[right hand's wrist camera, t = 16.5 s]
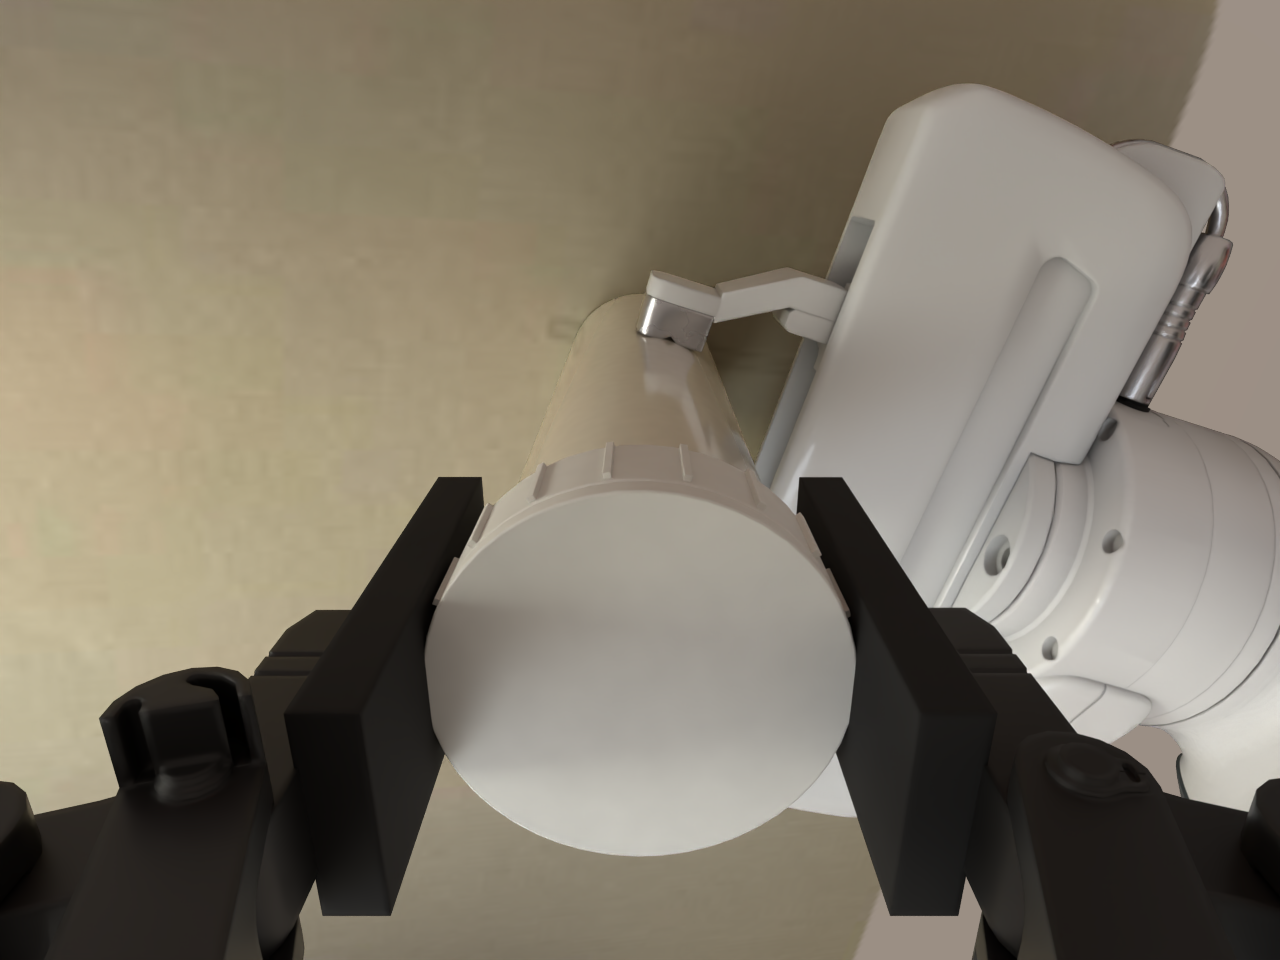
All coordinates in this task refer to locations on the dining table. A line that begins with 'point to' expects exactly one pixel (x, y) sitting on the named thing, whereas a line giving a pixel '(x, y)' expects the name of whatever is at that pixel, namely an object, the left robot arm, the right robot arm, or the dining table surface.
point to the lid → (640, 653)
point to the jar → (636, 395)
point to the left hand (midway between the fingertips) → (608, 411)
